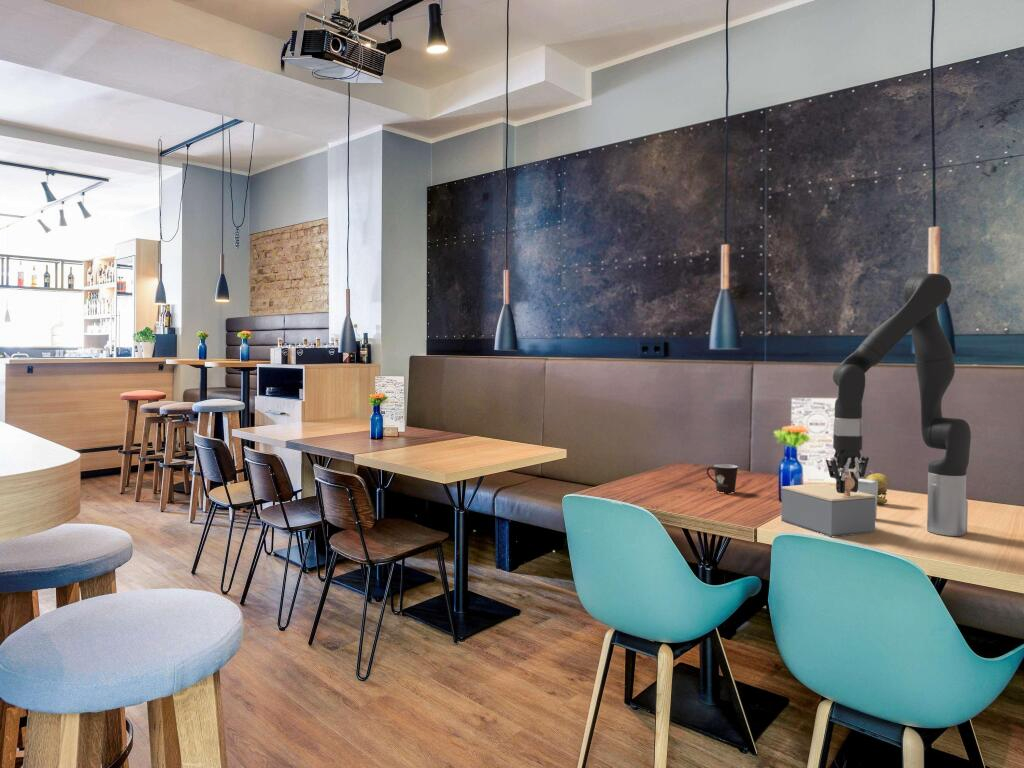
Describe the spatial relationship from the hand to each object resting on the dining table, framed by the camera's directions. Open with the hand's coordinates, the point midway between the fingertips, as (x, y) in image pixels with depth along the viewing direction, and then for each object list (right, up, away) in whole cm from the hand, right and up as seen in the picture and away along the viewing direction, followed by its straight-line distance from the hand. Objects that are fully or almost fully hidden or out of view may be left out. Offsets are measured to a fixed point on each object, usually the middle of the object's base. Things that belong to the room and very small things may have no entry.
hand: (846, 492), depth 191 cm
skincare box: (+14, -11, +17) cm, 25 cm away
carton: (-2, -12, +8) cm, 14 cm away
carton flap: (-2, -1, +7) cm, 8 cm away
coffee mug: (-17, -10, +60) cm, 63 cm away
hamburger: (+29, -10, +37) cm, 48 cm away
